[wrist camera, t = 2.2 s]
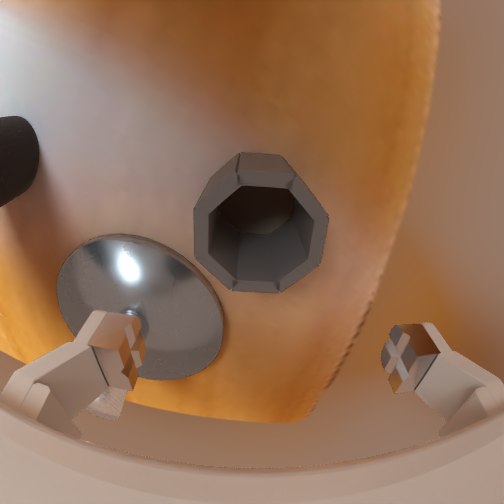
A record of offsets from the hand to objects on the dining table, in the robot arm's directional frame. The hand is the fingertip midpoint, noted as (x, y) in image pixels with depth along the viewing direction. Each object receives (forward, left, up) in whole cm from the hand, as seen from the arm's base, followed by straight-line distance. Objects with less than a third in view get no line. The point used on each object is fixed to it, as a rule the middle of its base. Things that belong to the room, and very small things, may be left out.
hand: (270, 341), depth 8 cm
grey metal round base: (+10, -10, -12) cm, 19 cm away
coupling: (-1, 0, -12) cm, 12 cm away
